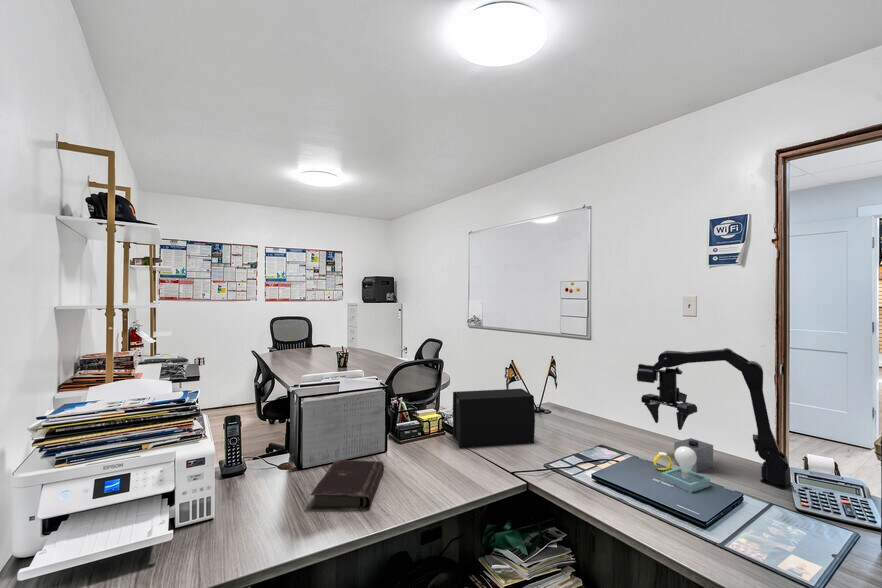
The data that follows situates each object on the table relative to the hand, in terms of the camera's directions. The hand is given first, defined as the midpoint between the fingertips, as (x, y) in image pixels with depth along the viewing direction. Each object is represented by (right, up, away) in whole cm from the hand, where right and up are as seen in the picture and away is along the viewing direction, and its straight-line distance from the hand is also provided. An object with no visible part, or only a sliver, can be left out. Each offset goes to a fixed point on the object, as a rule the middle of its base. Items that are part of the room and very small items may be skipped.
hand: (668, 426), depth 152 cm
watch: (-6, -13, -8) cm, 17 cm away
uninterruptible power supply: (-62, -14, +24) cm, 68 cm away
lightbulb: (-4, -12, -18) cm, 22 cm away
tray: (-4, -13, -18) cm, 23 cm away
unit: (+7, -13, -4) cm, 15 cm away
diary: (-115, -14, -21) cm, 118 cm away
